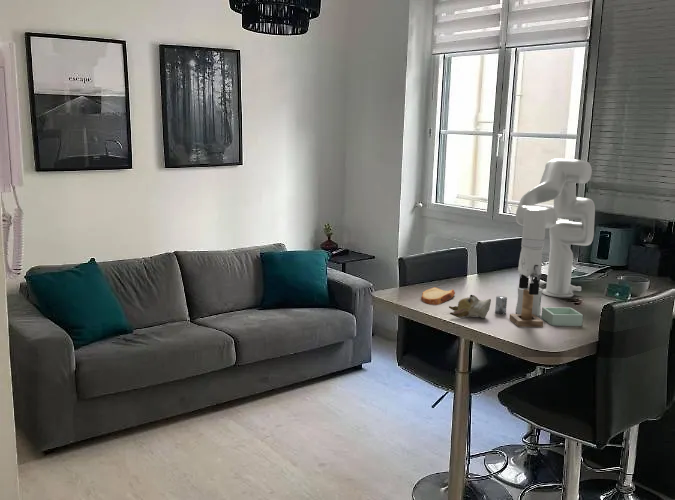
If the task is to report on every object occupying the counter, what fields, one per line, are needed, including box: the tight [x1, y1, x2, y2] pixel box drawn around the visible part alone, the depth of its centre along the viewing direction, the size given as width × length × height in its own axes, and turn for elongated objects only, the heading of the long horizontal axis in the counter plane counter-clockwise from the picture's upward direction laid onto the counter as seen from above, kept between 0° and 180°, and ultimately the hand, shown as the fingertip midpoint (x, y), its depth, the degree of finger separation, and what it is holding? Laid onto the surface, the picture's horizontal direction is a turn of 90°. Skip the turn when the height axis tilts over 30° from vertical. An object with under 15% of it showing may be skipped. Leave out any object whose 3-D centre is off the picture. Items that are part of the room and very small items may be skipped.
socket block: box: [509, 313, 544, 328], centre depth 236 cm, size 9×9×2 cm
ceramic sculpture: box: [448, 294, 492, 319], centre depth 242 cm, size 11×9×15 cm
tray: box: [540, 306, 584, 327], centre depth 239 cm, size 11×10×4 cm
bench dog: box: [494, 295, 508, 315], centre depth 248 cm, size 4×4×6 cm
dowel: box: [521, 289, 534, 320], centre depth 235 cm, size 4×4×12 cm
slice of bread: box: [420, 286, 456, 306], centre depth 267 cm, size 18×18×4 cm
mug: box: [515, 285, 543, 317], centre depth 249 cm, size 12×9×10 cm
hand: (528, 291), depth 234 cm, fingers open, 9 cm apart
